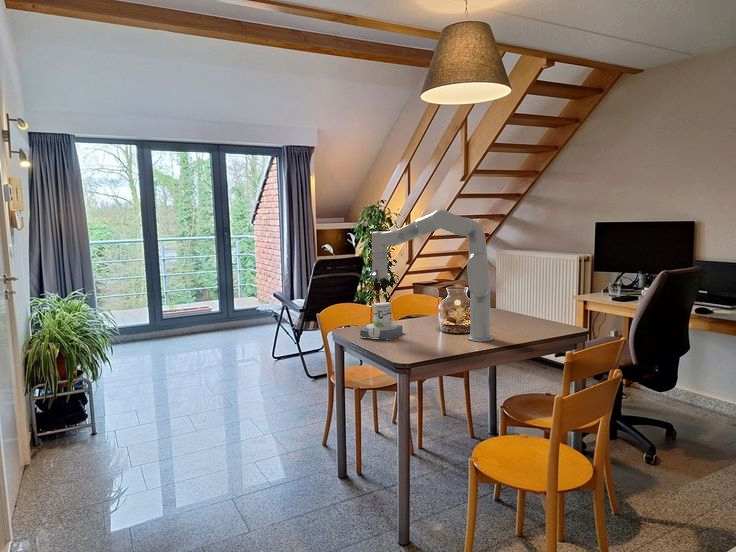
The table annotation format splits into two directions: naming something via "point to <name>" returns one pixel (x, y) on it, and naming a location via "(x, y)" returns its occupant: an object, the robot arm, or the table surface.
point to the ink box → (382, 314)
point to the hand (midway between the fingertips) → (380, 289)
